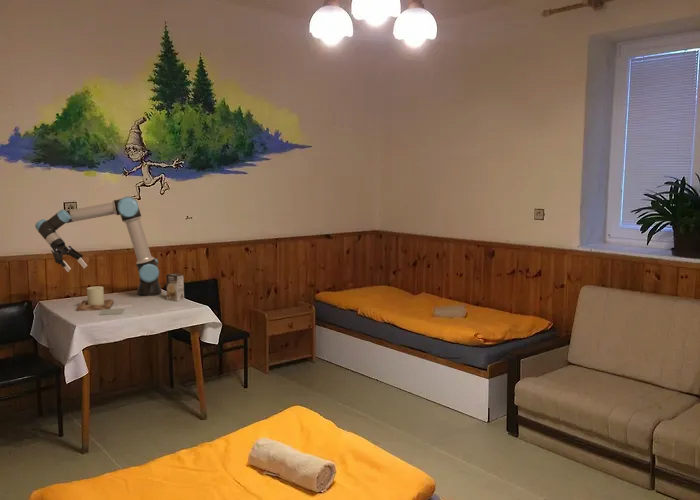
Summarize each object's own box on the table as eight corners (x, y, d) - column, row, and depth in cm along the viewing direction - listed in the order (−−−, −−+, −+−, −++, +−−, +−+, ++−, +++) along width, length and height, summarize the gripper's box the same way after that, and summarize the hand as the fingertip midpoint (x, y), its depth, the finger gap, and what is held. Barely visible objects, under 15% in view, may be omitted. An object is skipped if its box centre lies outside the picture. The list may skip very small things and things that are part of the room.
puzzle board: (113, 303, 371) (113, 299, 371) (109, 309, 355) (109, 305, 354) (83, 304, 367) (83, 300, 367) (77, 310, 351) (77, 306, 350)
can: (98, 309, 356) (97, 288, 354) (84, 308, 357) (83, 288, 356) (107, 305, 364) (106, 285, 363) (93, 305, 366) (92, 285, 365)
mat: (124, 309, 355) (124, 308, 355) (121, 314, 344) (121, 313, 343) (102, 310, 352) (102, 309, 352) (99, 315, 341) (98, 314, 341)
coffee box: (166, 299, 382) (165, 274, 380) (173, 298, 388) (172, 272, 386) (177, 301, 378) (176, 275, 376) (184, 299, 384) (184, 274, 382)
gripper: (67, 244, 376) (88, 269, 374) (35, 248, 353) (58, 276, 350) (74, 235, 374) (95, 261, 372) (43, 239, 350) (65, 267, 348)
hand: (77, 268), depth 361 cm, fingers open, 13 cm apart
